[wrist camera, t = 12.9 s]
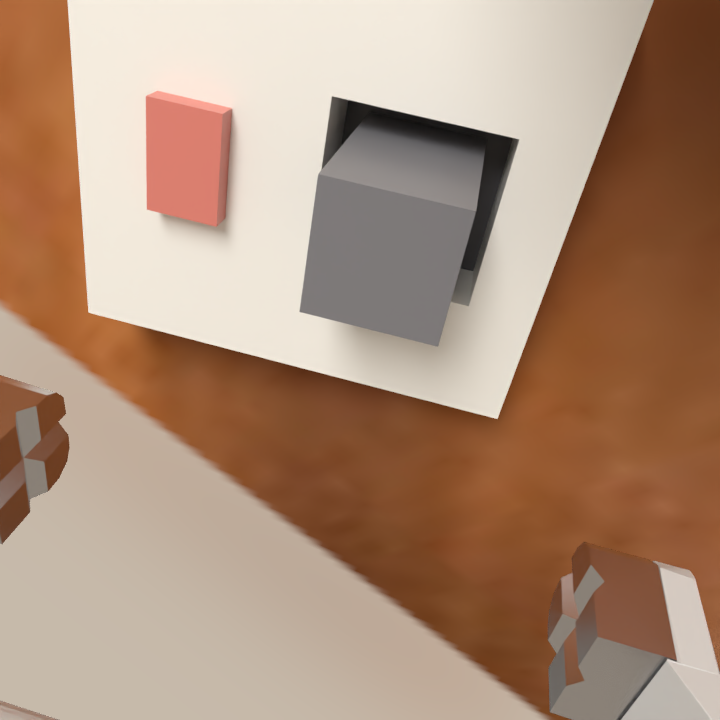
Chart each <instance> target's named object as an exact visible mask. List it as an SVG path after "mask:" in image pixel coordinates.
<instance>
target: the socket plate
mask: <svg viewBox="0 0 720 720" xmlns="http://www.w3.org/2000/svg"><path fill="white" fill-rule="evenodd" d="M653 1H654V0H68V14H69V29H70V43H71V58H72V73H73V88H74V103H75V118H76V133H77V148H78V163H79V178H80V193H81V208H82V223H83V237H84V252H85V267H86V282H87V297H88V312H89V313H92V314H96V315H100V316H104V317H107V318H111V319H115V320H119V321H123V322H127V323H130V324H134V325H138V326H142V327H146V328H150V329H153V330H157V331H161V332H165V333H169V334H173V335H177V336H180V337H184V338H188V339H192V340H196V341H200V342H203V343H207V344H211V345H215V346H219V347H223V348H226V349H230V350H234V351H238V352H242V353H246V354H249V355H253V356H257V357H261V358H265V359H269V360H273V361H276V362H280V363H284V364H288V365H292V366H296V367H299V368H303V369H307V370H311V371H315V372H319V373H322V374H326V375H330V376H334V377H338V378H342V379H345V380H349V381H353V382H357V383H361V384H365V385H369V386H372V387H376V388H380V389H384V390H388V391H392V392H395V393H399V394H403V395H407V396H411V397H415V398H418V399H422V400H426V401H430V402H434V403H438V404H441V405H445V406H449V407H453V408H457V409H461V410H465V411H468V412H472V413H476V414H480V415H484V416H488V417H491V418H495V419H498V416H499V413H500V411H501V408H502V405H503V403H504V400H505V397H506V395H507V392H508V389H509V387H510V384H511V381H512V379H513V376H514V373H515V371H516V368H517V365H518V363H519V360H520V357H521V355H522V352H523V349H524V347H525V344H526V341H527V339H528V336H529V333H530V330H531V328H532V325H533V322H534V320H535V317H536V314H537V312H538V309H539V306H540V304H541V301H542V298H543V296H544V293H545V290H546V288H547V285H548V282H549V280H550V277H551V274H552V272H553V269H554V266H555V264H556V261H557V258H558V255H559V253H560V250H561V247H562V245H563V242H564V239H565V237H566V234H567V231H568V229H569V226H570V223H571V221H572V218H573V215H574V213H575V210H576V207H577V205H578V202H579V199H580V197H581V194H582V191H583V189H584V186H585V183H586V180H587V178H588V175H589V172H590V170H591V167H592V164H593V162H594V159H595V156H596V154H597V151H598V148H599V146H600V143H601V140H602V138H603V135H604V132H605V130H606V127H607V124H608V122H609V119H610V116H611V114H612V111H613V108H614V106H615V103H616V100H617V97H618V95H619V92H620V89H621V87H622V84H623V81H624V79H625V76H626V73H627V71H628V68H629V65H630V63H631V60H632V57H633V55H634V52H635V49H636V47H637V44H638V41H639V39H640V36H641V33H642V31H643V28H644V25H645V22H646V20H647V17H648V14H649V12H650V9H651V6H652V4H653ZM369 112H372V113H376V114H381V115H385V116H390V117H394V118H398V119H403V120H407V121H411V122H416V123H420V124H425V125H429V126H433V127H438V128H442V129H447V130H451V131H455V132H460V133H464V134H469V135H473V136H477V137H482V138H486V139H487V141H486V148H485V155H484V162H483V169H482V175H481V182H480V189H479V196H478V202H477V209H476V214H475V217H474V221H473V224H472V228H471V232H470V235H469V239H468V242H467V246H466V249H465V253H464V256H463V260H462V264H461V267H460V271H459V274H458V278H457V281H456V285H455V288H454V292H453V296H452V299H451V303H450V306H449V310H448V313H447V317H446V320H445V324H444V328H443V331H442V335H441V338H440V342H439V345H438V347H437V346H433V345H429V344H425V343H421V342H417V341H413V340H409V339H405V338H401V337H397V336H393V335H389V334H385V333H381V332H377V331H373V330H369V329H365V328H361V327H357V326H353V325H349V324H346V323H342V322H338V321H334V320H330V319H326V318H322V317H318V316H314V315H310V314H306V313H302V312H299V311H300V304H301V296H302V289H303V282H304V274H305V267H306V260H307V252H308V245H309V238H310V230H311V223H312V215H313V208H314V201H315V193H316V186H317V179H318V174H319V172H320V171H321V170H322V169H323V168H324V166H325V165H326V164H327V163H328V162H329V160H330V159H331V158H332V157H333V156H334V154H335V153H336V152H337V151H338V150H339V148H340V147H341V146H342V145H343V144H344V142H345V141H346V140H347V139H348V138H349V136H350V135H351V134H352V133H353V132H354V130H355V129H356V128H357V127H358V125H359V124H360V123H361V122H362V121H363V119H364V118H365V117H366V116H367V115H368V113H369Z"/></svg>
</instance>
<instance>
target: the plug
mask: <svg viewBox="0 0 720 720" xmlns="http://www.w3.org/2000/svg"><path fill="white" fill-rule="evenodd" d="M486 141H487V139H486V138H482V137H477V136H473V135H469V134H464V133H460V132H455V131H451V130H447V129H442V128H438V127H433V126H429V125H425V124H420V123H416V122H411V121H407V120H403V119H398V118H394V117H390V116H385V115H381V114H376V113H372V112H369V113H368V115H367V116H366V117H365V118H364V119H363V121H362V122H361V123H360V124H359V125H358V127H357V128H356V129H355V130H354V132H353V133H352V134H351V135H350V136H349V138H348V139H347V140H346V141H345V142H344V144H343V145H342V146H341V147H340V148H339V150H338V151H337V152H336V153H335V154H334V156H333V157H332V158H331V159H330V160H329V162H328V163H327V164H326V165H325V166H324V168H323V169H322V170H321V171H320V172H319V174H318V179H317V186H316V193H315V201H314V208H313V215H312V223H311V230H310V238H309V245H308V252H307V260H306V267H305V274H304V282H303V289H302V296H301V304H300V311H299V312H302V313H306V314H310V315H314V316H318V317H322V318H326V319H330V320H334V321H338V322H342V323H346V324H349V325H353V326H357V327H361V328H365V329H369V330H373V331H377V332H381V333H385V334H389V335H393V336H397V337H401V338H405V339H409V340H413V341H417V342H421V343H425V344H429V345H433V346H437V347H438V345H439V342H440V338H441V335H442V331H443V328H444V324H445V320H446V317H447V313H448V310H449V306H450V303H451V299H452V296H453V292H454V288H455V285H456V281H457V278H458V274H459V271H460V267H461V264H462V260H463V256H464V253H465V249H466V246H467V242H468V239H469V235H470V232H471V228H472V224H473V221H474V217H475V214H476V209H477V202H478V196H479V189H480V182H481V175H482V169H483V162H484V155H485V148H486Z"/></svg>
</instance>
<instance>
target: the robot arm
mask: <svg viewBox="0 0 720 720" xmlns="http://www.w3.org/2000/svg"><path fill="white" fill-rule="evenodd" d="M65 414H66V410H65V404H64V398H63V397H62V396H61V395H59V394H58V393H55V392H53V391H49V390H46V389H43V388H39V387H36V386H33V385H30V384H27V383H24V382H20V381H17V380H14V379H11V378H8V377H4V376H1V375H0V544H3V542H4V541H5V540H6V539H7V538H8V537H9V536H10V534H11V533H12V532H13V531H14V530H15V529H16V528H17V526H18V525H19V524H20V523H21V522H22V521H23V519H24V518H25V517H26V516H27V515H28V514H29V513H30V499H31V498H33V497H36V496H38V495H40V494H42V493H45V492H48V491H49V490H50V488H51V487H52V486H53V485H54V483H55V482H56V481H57V480H58V479H59V477H60V475H61V473H62V471H63V468H64V467H65V464H66V462H67V458H68V452H69V437H68V434H67V433H66V432H65V430H64V429H63V428H62V426H61V425H60V424H59V422H58V421H59V420H60V419H61V418H62V417H63V416H64V415H65ZM548 641H549V642H550V644H551V646H552V647H553V649H554V650H555V652H556V653H557V654H556V656H555V658H554V660H553V661H552V663H551V665H550V666H549V700H550V712H551V713H554V714H557V715H560V716H563V717H566V718H569V719H572V720H720V672H719V668H718V665H717V661H716V657H715V653H714V649H713V645H712V641H711V638H710V634H709V630H708V626H707V622H706V618H705V615H704V611H703V607H702V603H701V599H700V595H699V592H698V588H697V584H696V580H695V577H694V576H693V574H692V573H691V572H690V570H686V569H683V568H679V567H675V566H671V565H668V564H664V563H660V562H657V561H651V560H649V559H645V558H641V557H638V556H634V555H631V554H627V553H623V552H620V551H616V550H612V549H609V548H605V547H601V546H598V545H594V544H590V543H587V542H583V543H582V544H581V545H580V546H579V547H578V548H577V550H576V552H575V553H574V555H573V557H572V573H571V574H569V575H566V576H564V577H562V578H561V579H560V581H559V583H558V585H557V588H556V590H555V592H554V595H553V598H552V602H551V606H550V610H549V619H548ZM0 720H58V719H55V718H52V717H49V716H46V715H42V714H39V713H36V712H33V711H30V710H27V709H24V708H21V707H18V706H15V705H12V704H9V703H6V702H3V701H0Z"/></svg>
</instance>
